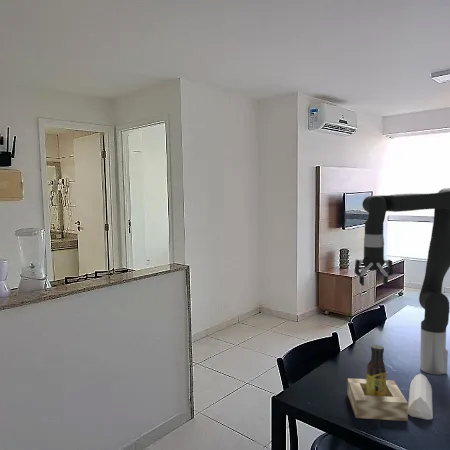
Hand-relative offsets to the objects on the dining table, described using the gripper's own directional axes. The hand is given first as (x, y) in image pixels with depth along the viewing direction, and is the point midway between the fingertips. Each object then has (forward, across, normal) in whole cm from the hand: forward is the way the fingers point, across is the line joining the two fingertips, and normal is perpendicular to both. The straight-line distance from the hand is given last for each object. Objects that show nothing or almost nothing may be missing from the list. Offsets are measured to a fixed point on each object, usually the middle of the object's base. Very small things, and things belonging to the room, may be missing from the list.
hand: (373, 285), depth 163 cm
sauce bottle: (+35, +5, +28) cm, 45 cm away
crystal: (+37, -11, +24) cm, 45 cm away
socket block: (+36, +5, +28) cm, 46 cm away
